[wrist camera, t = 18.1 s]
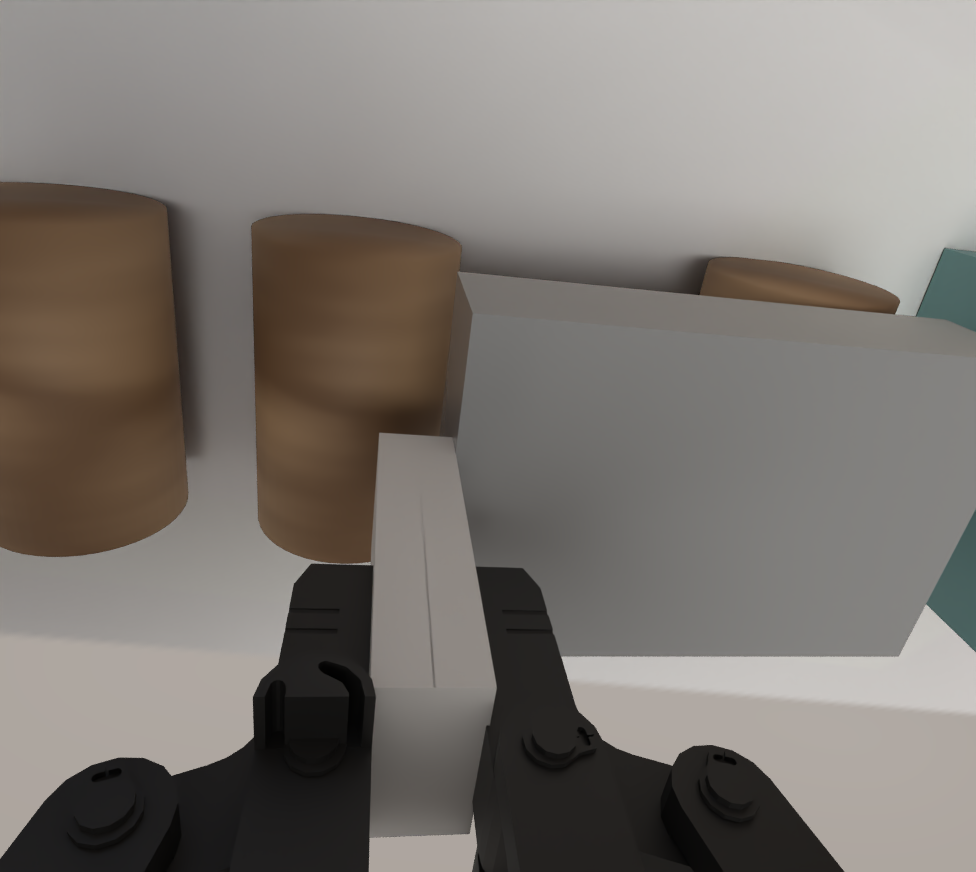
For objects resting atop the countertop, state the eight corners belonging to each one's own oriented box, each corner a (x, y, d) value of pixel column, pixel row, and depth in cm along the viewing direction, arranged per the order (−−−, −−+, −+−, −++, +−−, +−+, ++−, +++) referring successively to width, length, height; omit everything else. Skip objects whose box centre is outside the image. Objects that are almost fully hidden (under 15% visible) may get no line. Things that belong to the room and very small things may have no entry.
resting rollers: (32, 453, 21) (-64, 554, 16) (-21, 174, 17) (-161, 206, 13) (427, 472, 23) (437, 565, 18) (453, 227, 19) (472, 269, 15)
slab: (424, 572, 18) (430, 656, 15) (457, 271, 15) (472, 313, 12) (831, 581, 20) (898, 656, 18) (945, 319, 17) (1051, 364, 14)
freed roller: (744, 251, 22) (914, 292, 19) (681, 468, 26) (818, 526, 23) (679, 266, 18) (879, 318, 16) (616, 516, 22) (771, 592, 19)
